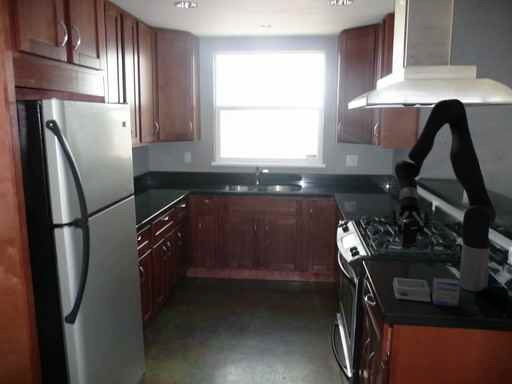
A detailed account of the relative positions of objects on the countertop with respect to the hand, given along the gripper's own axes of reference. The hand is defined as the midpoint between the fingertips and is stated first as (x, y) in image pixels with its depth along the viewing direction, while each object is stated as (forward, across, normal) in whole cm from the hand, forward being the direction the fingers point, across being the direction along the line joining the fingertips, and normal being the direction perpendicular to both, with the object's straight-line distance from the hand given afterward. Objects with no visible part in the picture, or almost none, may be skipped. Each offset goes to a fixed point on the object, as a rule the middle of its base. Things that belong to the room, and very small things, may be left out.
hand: (410, 235), depth 163 cm
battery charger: (+3, 0, +5) cm, 6 cm away
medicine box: (+27, +10, +1) cm, 29 cm away
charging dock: (+22, 0, +6) cm, 23 cm away
